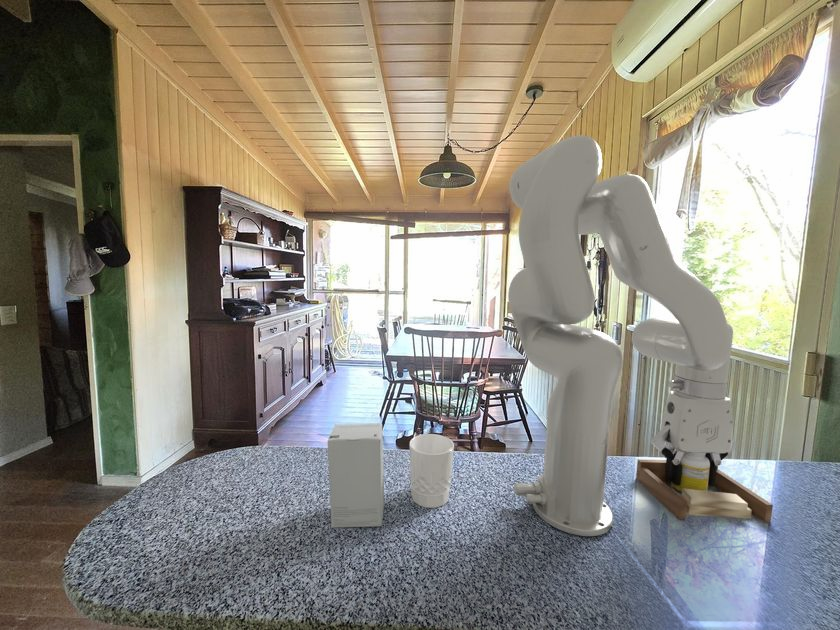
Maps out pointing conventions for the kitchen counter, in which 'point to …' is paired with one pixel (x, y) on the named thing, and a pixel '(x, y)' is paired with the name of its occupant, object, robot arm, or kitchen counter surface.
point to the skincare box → (356, 475)
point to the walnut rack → (654, 482)
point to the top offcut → (714, 499)
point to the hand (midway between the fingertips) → (689, 480)
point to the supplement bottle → (693, 472)
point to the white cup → (431, 469)
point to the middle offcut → (716, 510)
